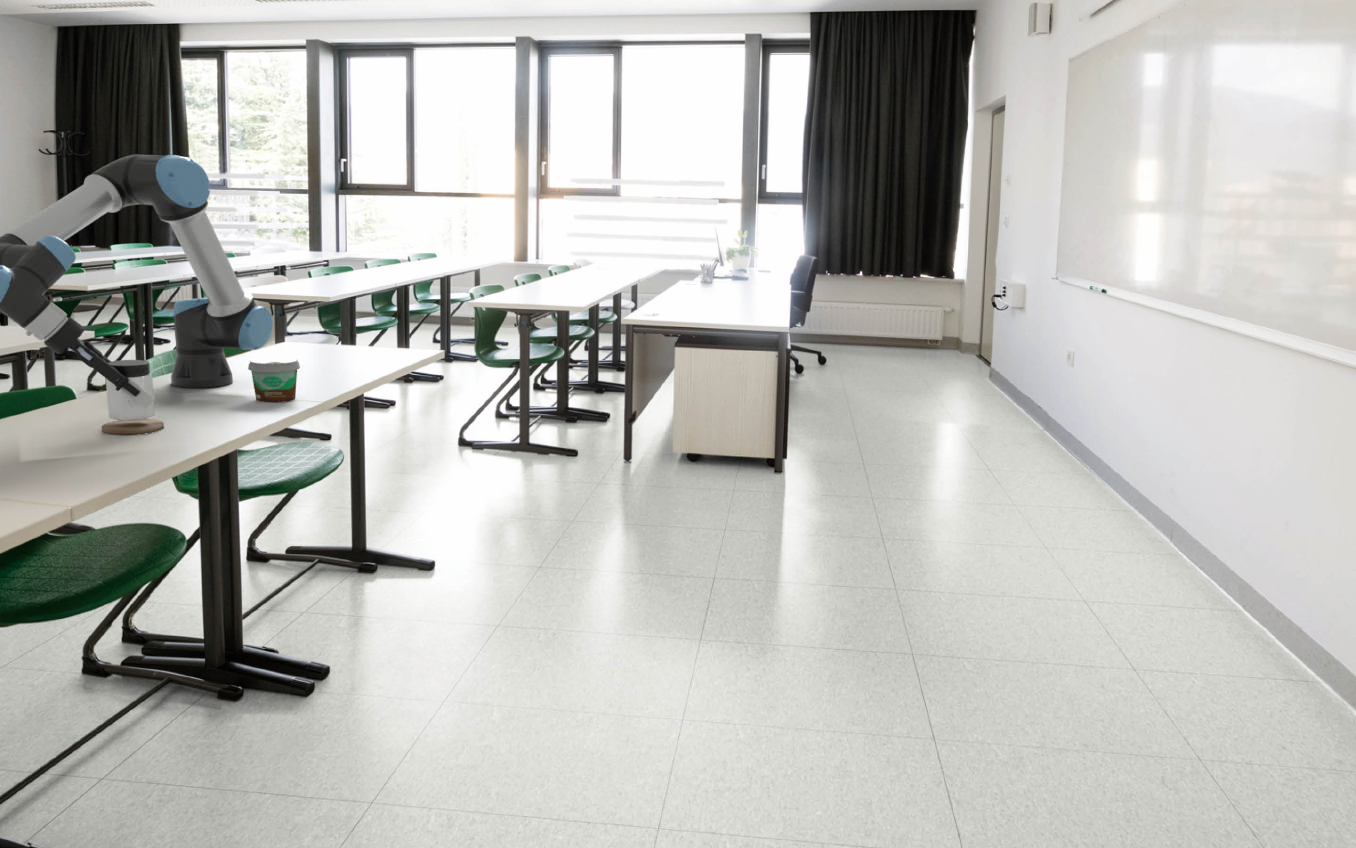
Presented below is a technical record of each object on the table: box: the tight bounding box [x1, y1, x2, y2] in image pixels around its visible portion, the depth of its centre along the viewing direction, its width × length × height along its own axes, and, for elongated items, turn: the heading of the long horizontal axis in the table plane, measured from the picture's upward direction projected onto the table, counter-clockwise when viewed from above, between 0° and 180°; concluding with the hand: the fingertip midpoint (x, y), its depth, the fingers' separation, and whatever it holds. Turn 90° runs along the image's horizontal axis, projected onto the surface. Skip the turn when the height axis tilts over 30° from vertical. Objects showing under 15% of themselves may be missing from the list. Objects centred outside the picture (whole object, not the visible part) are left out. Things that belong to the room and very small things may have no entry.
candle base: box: [101, 418, 165, 436], centre depth 222 cm, size 12×12×1 cm
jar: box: [105, 359, 156, 421], centre depth 220 cm, size 9×8×12 cm
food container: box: [247, 359, 301, 404], centre depth 255 cm, size 12×6×10 cm, turn 117°
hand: (148, 399), depth 222 cm, fingers closed on jar, 7 cm apart
